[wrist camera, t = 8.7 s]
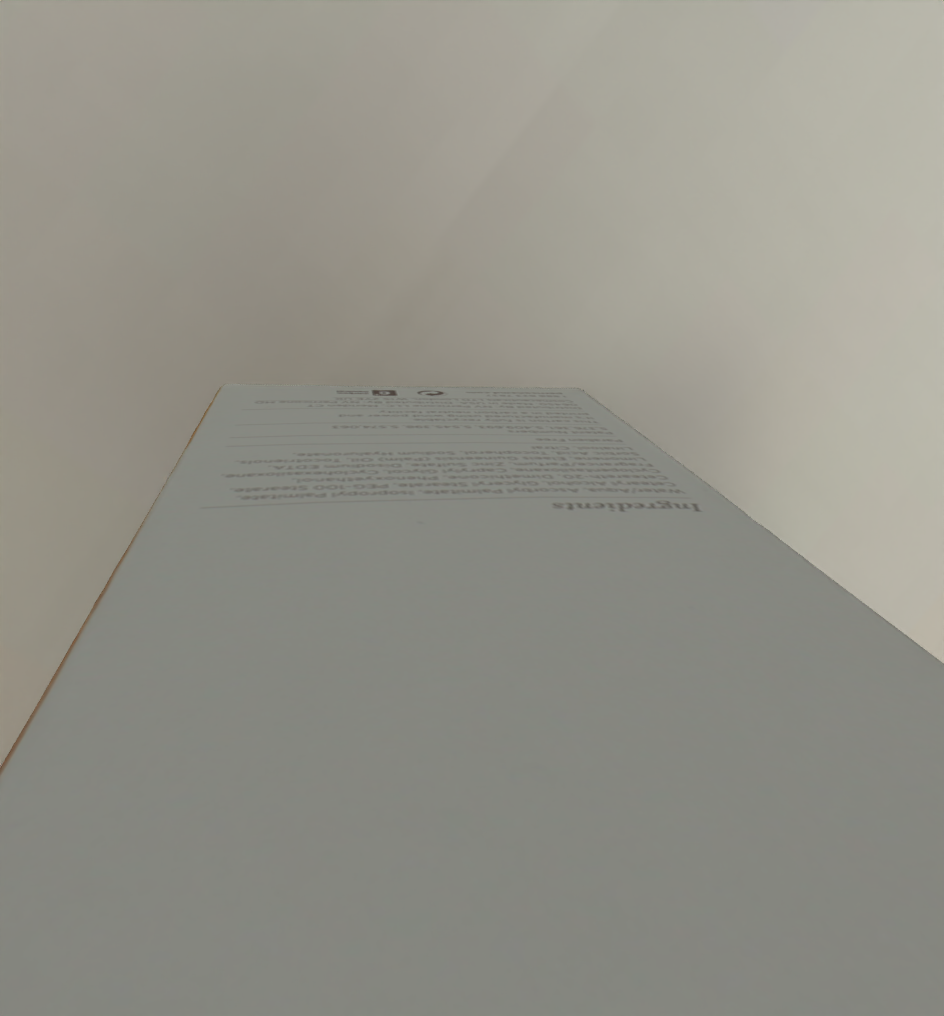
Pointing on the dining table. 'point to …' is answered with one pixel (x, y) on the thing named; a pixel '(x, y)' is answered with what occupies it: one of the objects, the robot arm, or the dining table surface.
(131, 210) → the dining table surface
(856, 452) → the dining table surface
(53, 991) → the small box
